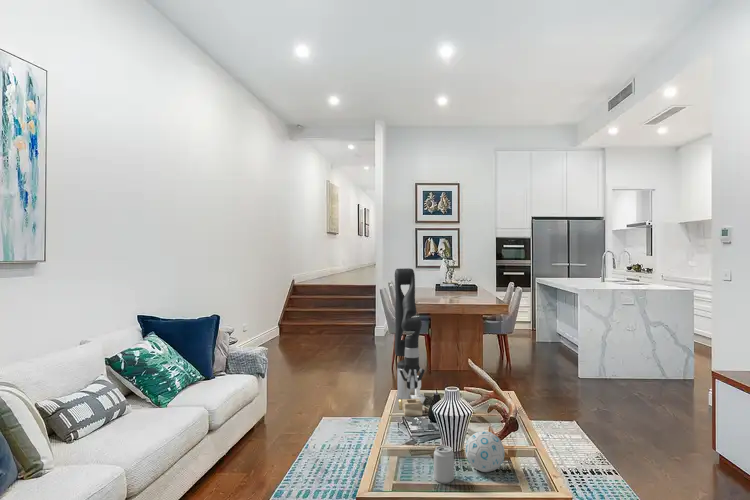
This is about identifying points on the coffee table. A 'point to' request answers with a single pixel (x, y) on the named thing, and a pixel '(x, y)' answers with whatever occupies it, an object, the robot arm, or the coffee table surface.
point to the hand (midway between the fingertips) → (412, 388)
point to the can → (444, 464)
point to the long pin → (412, 385)
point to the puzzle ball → (484, 451)
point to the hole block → (411, 407)
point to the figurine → (418, 393)
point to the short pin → (400, 404)
